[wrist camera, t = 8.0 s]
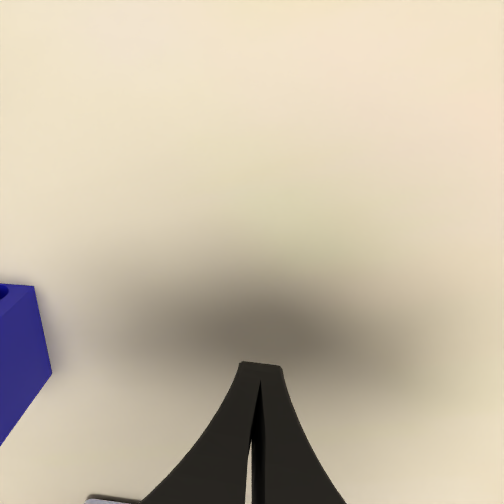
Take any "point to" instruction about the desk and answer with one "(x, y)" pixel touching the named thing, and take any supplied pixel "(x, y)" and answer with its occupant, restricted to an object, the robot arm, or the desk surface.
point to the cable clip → (20, 354)
